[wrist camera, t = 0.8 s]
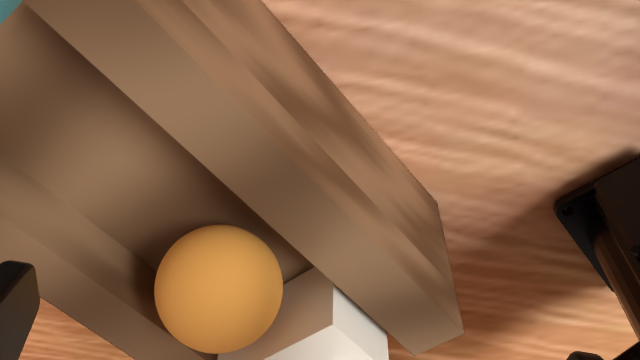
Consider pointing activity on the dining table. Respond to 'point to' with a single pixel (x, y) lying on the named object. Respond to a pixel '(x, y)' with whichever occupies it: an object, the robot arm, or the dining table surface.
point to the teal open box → (7, 8)
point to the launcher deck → (199, 166)
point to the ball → (218, 289)
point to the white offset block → (317, 326)
